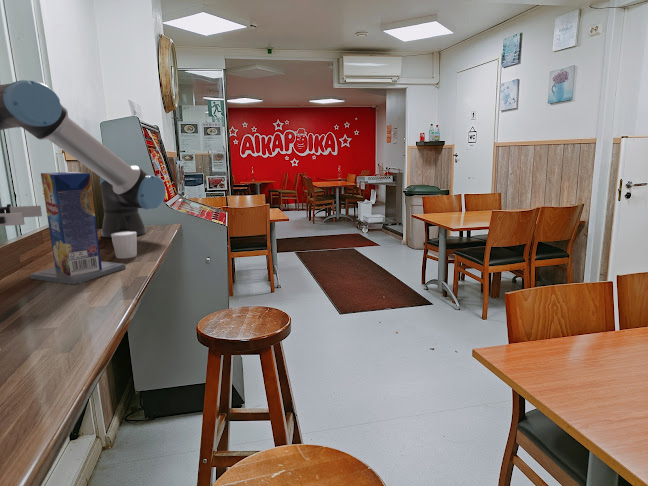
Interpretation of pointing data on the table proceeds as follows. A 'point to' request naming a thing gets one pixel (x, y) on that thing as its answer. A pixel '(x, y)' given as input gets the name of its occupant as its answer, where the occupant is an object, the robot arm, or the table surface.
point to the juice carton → (72, 222)
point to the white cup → (125, 244)
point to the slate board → (61, 277)
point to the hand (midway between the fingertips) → (32, 214)
